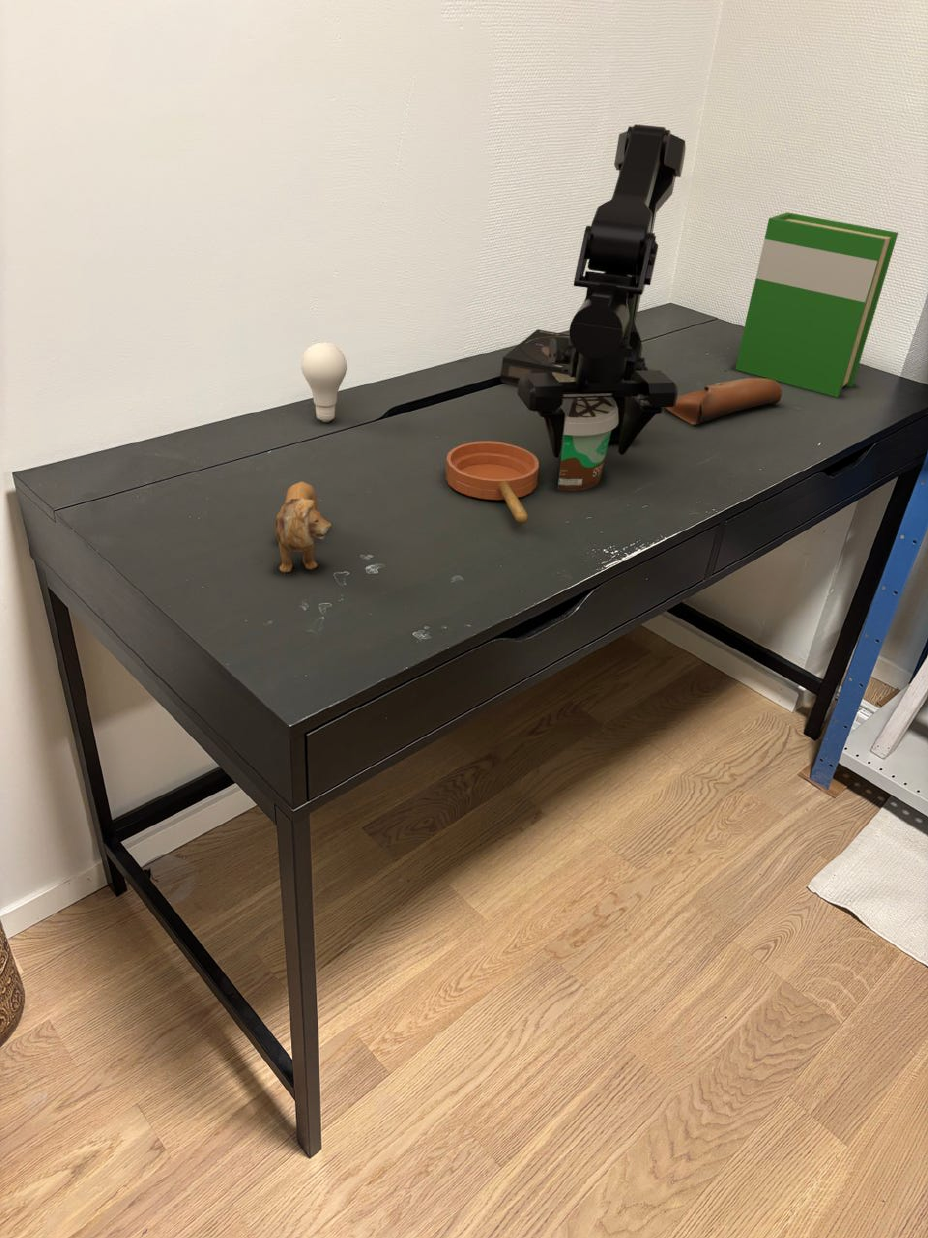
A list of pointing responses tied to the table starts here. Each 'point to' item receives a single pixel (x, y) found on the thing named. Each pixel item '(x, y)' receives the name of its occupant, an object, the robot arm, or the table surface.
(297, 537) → the lion figurine
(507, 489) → the pan handle
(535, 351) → the portable cd player
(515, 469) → the pan
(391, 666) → the table surface
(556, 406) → the robot arm
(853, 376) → the hardback book
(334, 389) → the lightbulb
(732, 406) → the sunglasses case
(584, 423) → the food container
